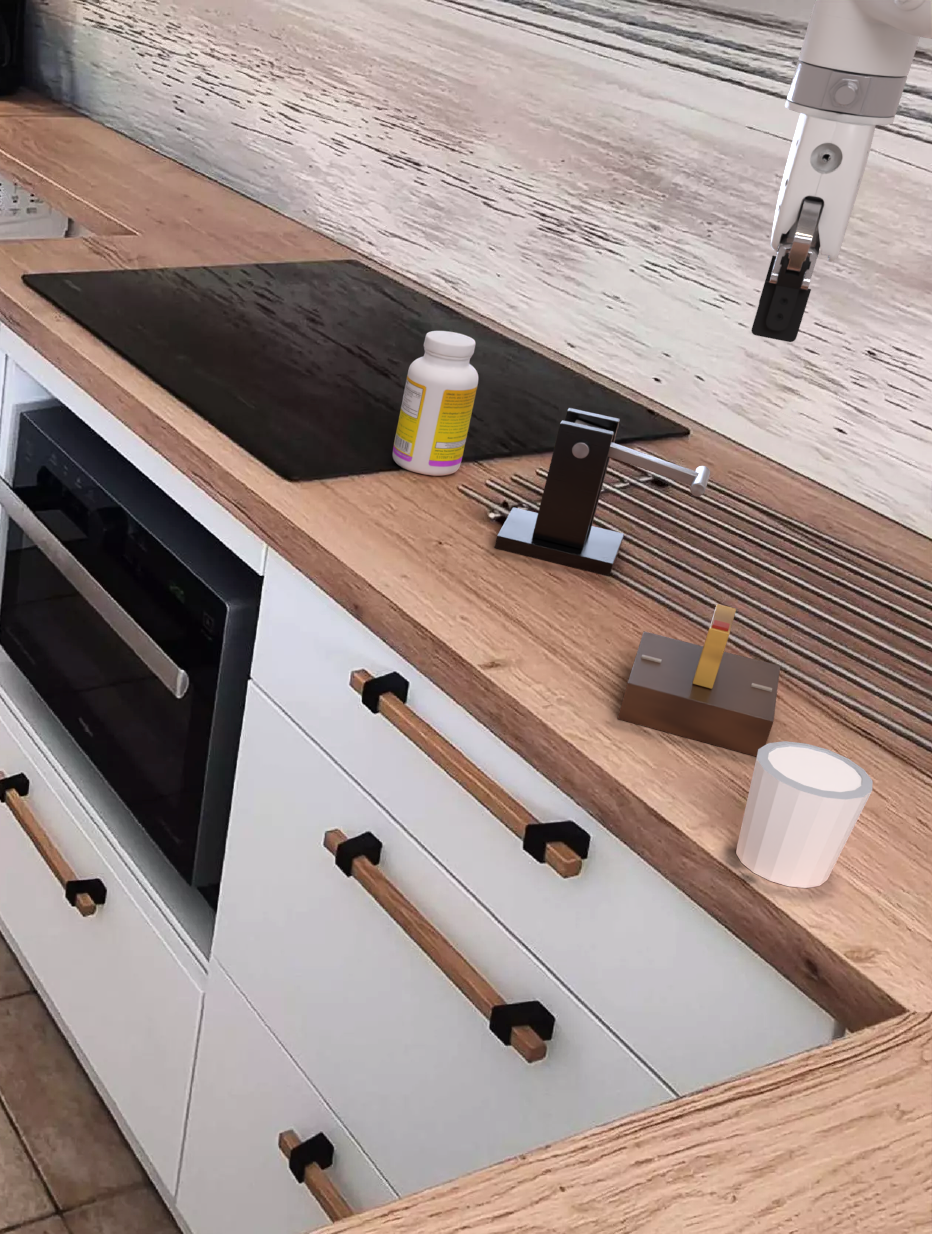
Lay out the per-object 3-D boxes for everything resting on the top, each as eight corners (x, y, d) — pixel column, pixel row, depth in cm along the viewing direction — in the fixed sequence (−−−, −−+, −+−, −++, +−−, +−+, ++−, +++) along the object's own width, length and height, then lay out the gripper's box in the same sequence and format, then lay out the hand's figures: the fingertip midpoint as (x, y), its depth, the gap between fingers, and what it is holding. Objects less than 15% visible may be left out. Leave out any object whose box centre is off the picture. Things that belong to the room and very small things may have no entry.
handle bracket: (621, 545, 156) (655, 421, 151) (609, 576, 149) (644, 447, 144) (510, 519, 159) (539, 396, 154) (494, 548, 152) (524, 420, 147)
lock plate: (768, 700, 131) (781, 663, 129) (761, 758, 122) (774, 719, 121) (633, 665, 134) (644, 628, 132) (617, 719, 126) (628, 680, 124)
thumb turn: (699, 657, 129) (717, 600, 127) (719, 662, 129) (737, 605, 126) (692, 683, 125) (710, 624, 123) (712, 689, 124) (730, 630, 122)
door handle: (704, 487, 150) (715, 462, 148) (699, 505, 145) (710, 479, 144) (569, 439, 153) (578, 414, 151) (560, 456, 148) (570, 430, 147)
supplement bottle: (467, 464, 171) (495, 338, 165) (448, 483, 166) (476, 353, 160) (402, 448, 174) (427, 322, 168) (381, 466, 168) (407, 337, 162)
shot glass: (801, 831, 114) (834, 739, 111) (860, 893, 108) (897, 797, 105) (705, 832, 112) (736, 739, 109) (760, 894, 106) (794, 797, 103)
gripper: (900, 117, 118) (823, 360, 126) (898, 89, 132) (829, 308, 140) (785, 99, 120) (716, 339, 128) (795, 73, 135) (733, 290, 143)
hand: (775, 323), depth 134 cm, fingers open, 9 cm apart
